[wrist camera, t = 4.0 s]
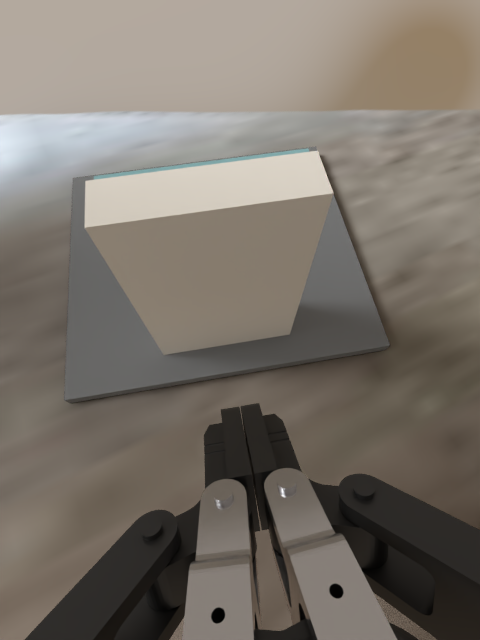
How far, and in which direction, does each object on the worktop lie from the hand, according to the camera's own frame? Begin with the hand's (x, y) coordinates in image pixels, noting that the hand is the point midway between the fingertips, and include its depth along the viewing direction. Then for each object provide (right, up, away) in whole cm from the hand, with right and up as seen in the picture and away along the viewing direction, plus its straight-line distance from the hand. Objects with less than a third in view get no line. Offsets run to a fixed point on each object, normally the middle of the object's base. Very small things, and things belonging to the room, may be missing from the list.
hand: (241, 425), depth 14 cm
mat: (-2, +9, +12) cm, 15 cm away
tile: (-1, +4, +9) cm, 10 cm away
